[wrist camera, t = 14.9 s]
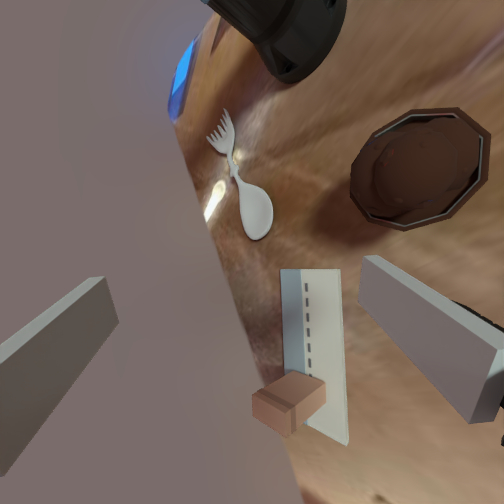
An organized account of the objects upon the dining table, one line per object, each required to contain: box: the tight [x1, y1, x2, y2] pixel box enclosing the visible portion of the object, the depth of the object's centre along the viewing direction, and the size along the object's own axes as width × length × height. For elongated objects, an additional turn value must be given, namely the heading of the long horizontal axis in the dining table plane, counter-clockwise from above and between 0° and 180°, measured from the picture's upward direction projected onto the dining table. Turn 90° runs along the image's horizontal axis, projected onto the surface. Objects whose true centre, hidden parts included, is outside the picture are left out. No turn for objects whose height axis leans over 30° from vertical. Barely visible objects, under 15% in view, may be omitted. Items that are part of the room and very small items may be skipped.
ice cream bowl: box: [350, 107, 491, 231], centre depth 23 cm, size 11×11×15 cm
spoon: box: [206, 108, 273, 240], centre depth 51 cm, size 9×32×4 cm, turn 27°
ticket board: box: [280, 269, 349, 446], centre depth 39 cm, size 26×11×1 cm, turn 1°
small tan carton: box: [252, 371, 326, 438], centre depth 35 cm, size 3×6×10 cm, turn 91°
